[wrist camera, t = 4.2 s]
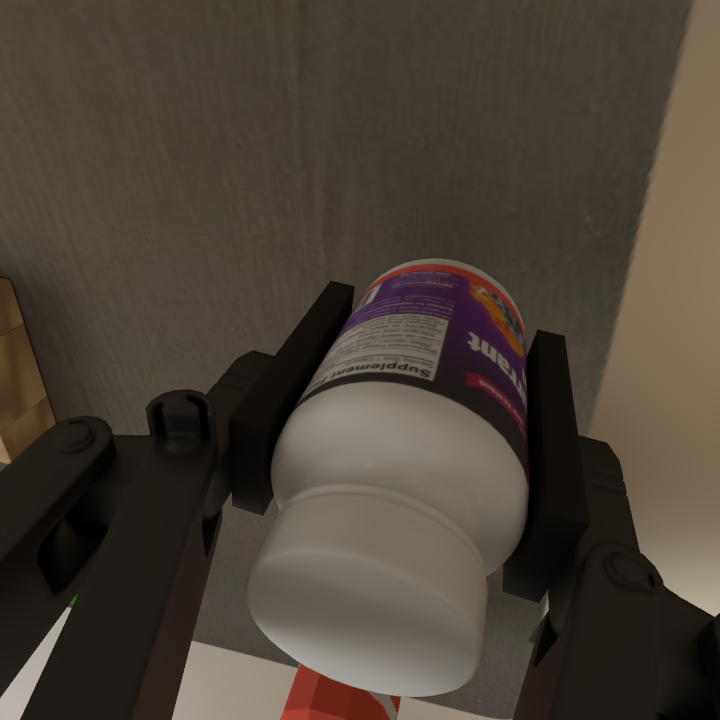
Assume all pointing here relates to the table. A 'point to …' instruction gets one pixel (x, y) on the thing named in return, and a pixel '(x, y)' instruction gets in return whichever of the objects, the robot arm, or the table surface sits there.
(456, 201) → the table surface
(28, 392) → the block
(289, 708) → the beverage can
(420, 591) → the pill bottle
